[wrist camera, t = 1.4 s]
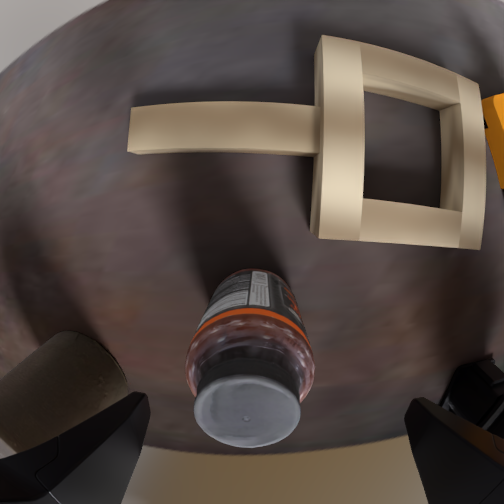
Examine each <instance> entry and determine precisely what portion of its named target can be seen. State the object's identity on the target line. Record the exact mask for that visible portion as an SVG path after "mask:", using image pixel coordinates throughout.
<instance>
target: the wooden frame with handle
mask: <svg viewBox="0 0 504 504" xmlns="http://www.w3.org/2000/svg"><path fill="white" fill-rule="evenodd" d="M314 77H315V106H308V105H298V104H286V103H271V102H243V101H215V102H187V103H172V104H160V105H150V106H141V107H133V108H131V116H130V126H129V137H128V150H127V151H129V152H132V153H136V154H139V155H140V154H158V153H190V152H229V153H260V154H279V155H294V156H306V157H314V161H313V184H312V203H311V219H310V232H311V233H312V234H314V235H315V236H316V237H317V238H321V239H338V240H354V241H370V242H384V243H399V244H413V245H426V246H439V247H451V248H463V249H475V250H480V248H481V241H482V233H483V223H484V212H485V196H486V147H485V131H484V120H483V111H482V104H481V97H480V91H479V85H478V83H476V82H473V81H471V80H469V79H467V78H465V77H463V76H461V75H459V74H456V73H454V72H452V71H450V70H447V69H445V68H442V67H440V66H437V65H435V64H432V63H430V62H427V61H424V60H421V59H419V58H416V57H413V56H410V55H407V54H403V53H400V52H397V51H394V50H390V49H387V48H383V47H379V46H375V45H371V44H367V43H363V42H358V41H354V40H349V39H344V38H338V37H332V36H326V35H322V36H321V38H320V41H319V43H318V46H317V48H316V51H315V53H314ZM363 91H367V92H372V93H376V94H381V95H385V96H389V97H394V98H397V99H401V100H405V101H409V102H412V103H416V104H419V105H423V106H426V107H429V108H432V109H435V110H438V111H439V113H440V127H441V159H442V164H441V197H440V208H434V207H427V206H420V205H413V204H406V203H398V202H391V201H382V200H374V199H365V198H363V183H364V148H365V125H364V92H363Z"/></svg>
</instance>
